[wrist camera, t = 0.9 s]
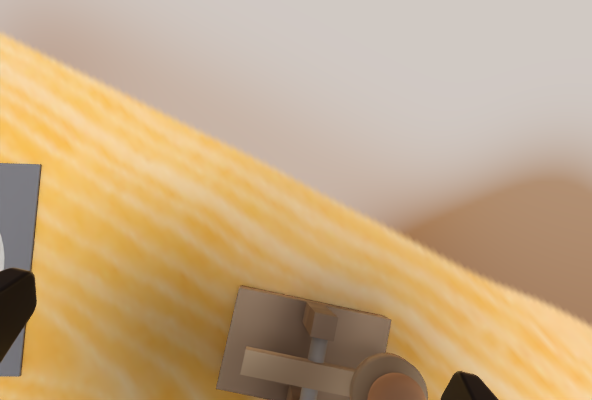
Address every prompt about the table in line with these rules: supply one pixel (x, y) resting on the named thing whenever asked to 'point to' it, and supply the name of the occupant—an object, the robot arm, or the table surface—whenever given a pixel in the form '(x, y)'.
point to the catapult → (312, 352)
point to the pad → (17, 235)
